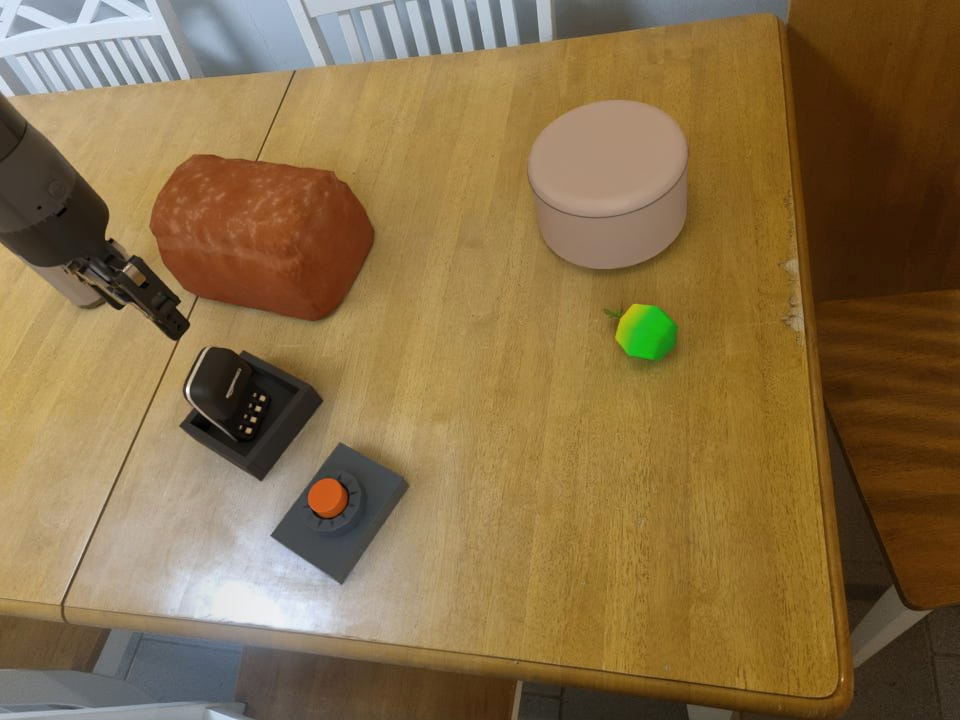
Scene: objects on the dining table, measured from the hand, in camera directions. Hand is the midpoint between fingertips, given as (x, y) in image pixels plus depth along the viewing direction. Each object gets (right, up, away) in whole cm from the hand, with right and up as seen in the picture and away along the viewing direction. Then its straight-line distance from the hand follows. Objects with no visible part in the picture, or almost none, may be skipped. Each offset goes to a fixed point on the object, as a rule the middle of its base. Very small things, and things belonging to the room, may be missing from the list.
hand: (152, 317), depth 69 cm
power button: (+16, -18, +6) cm, 25 cm away
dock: (+5, -11, +18) cm, 22 cm away
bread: (+4, +9, +32) cm, 33 cm away
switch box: (+16, -20, +9) cm, 27 cm away
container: (+47, +13, +23) cm, 54 cm away
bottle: (-24, +5, +37) cm, 44 cm away
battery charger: (+4, -11, +18) cm, 21 cm away
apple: (+48, -2, +12) cm, 50 cm away
